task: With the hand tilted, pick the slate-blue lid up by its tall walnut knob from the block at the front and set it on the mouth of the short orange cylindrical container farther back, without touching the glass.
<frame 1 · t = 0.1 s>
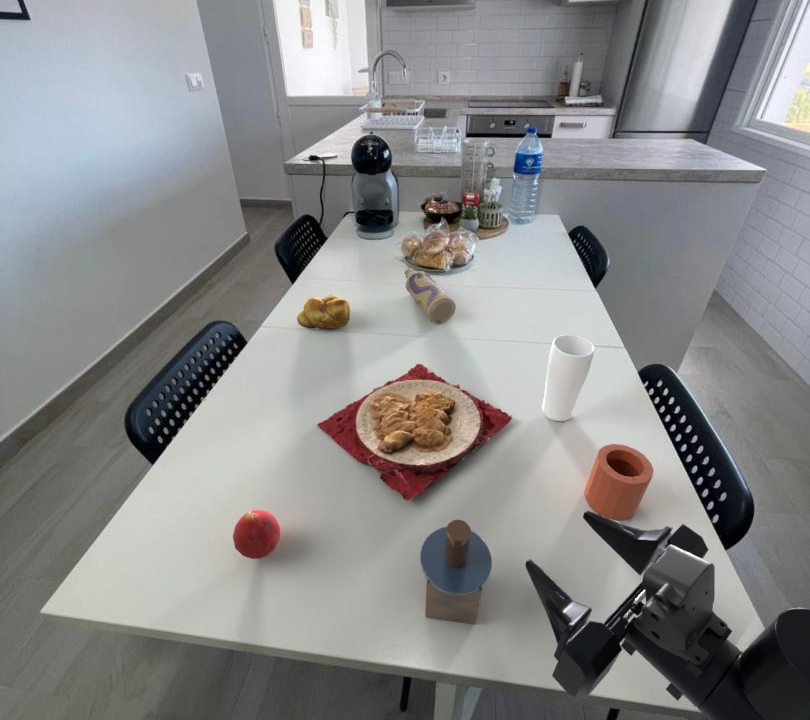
hand: (557, 536, 46), 14 cm above the table, tool horizontal, fingers open, 9 cm apart
decorative bottle: (427, 302, 118), on the table
drinking glass: (556, 413, 82), on the table
bread roll: (325, 324, 109), on the table
orange cylindrical container: (609, 499, 67), on the table
block: (451, 595, 55), on the table
plate with food: (414, 426, 80), on the table
onion: (262, 550, 60), on the table
lid: (455, 560, 51), point 8 cm above the table, touching block
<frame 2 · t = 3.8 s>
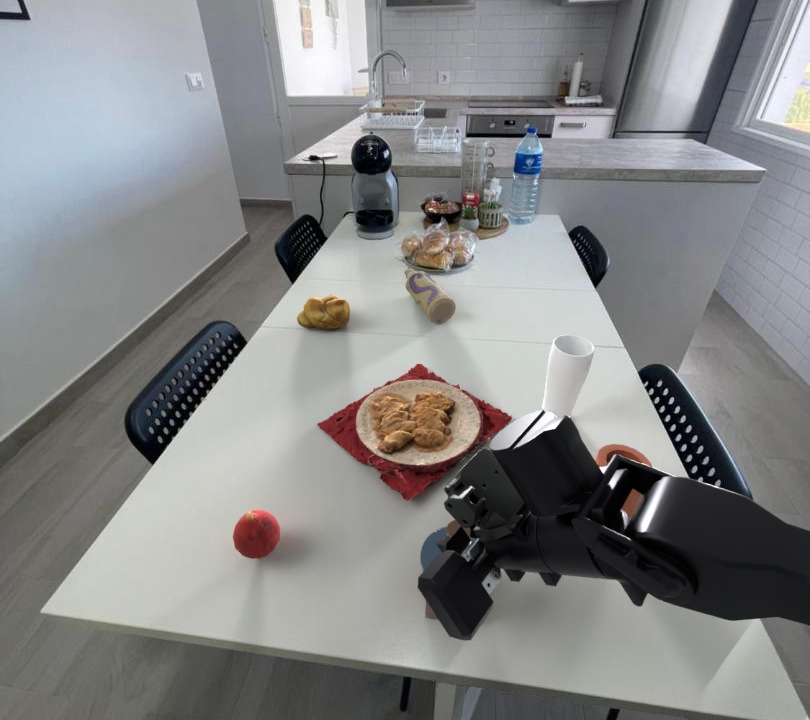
hand: (447, 536, 49), 11 cm above the table, tool tilted 45°, fingers closed on lid, 2 cm apart
lid: (455, 560, 51), point 8 cm above the table, touching gripper, block
everything else where it was.
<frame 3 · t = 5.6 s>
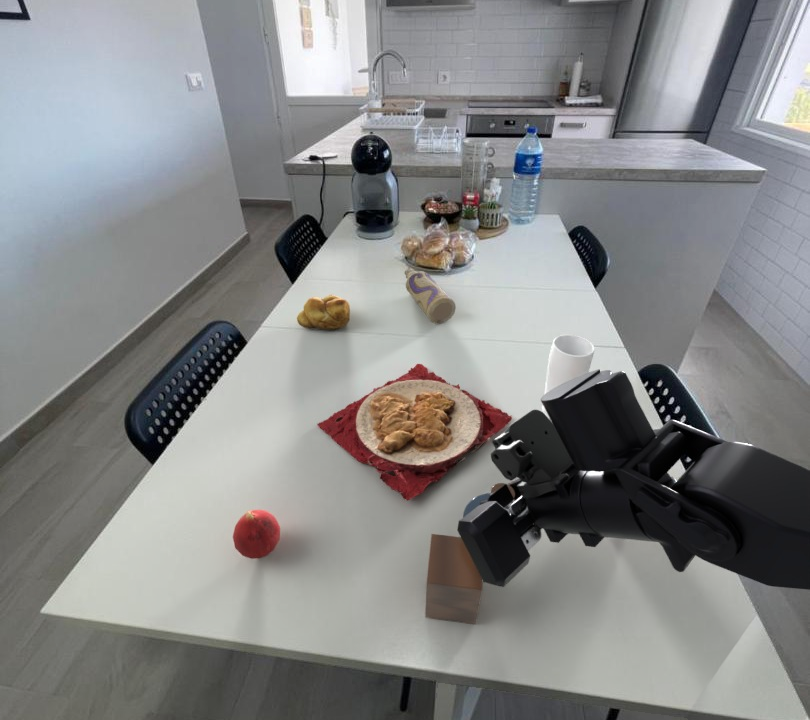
hand: (491, 499, 51), 14 cm above the table, tool tilted 45°, fingers closed on lid, 2 cm apart
lid: (497, 524, 52), point 10 cm above the table, touching gripper
everything else where it was.
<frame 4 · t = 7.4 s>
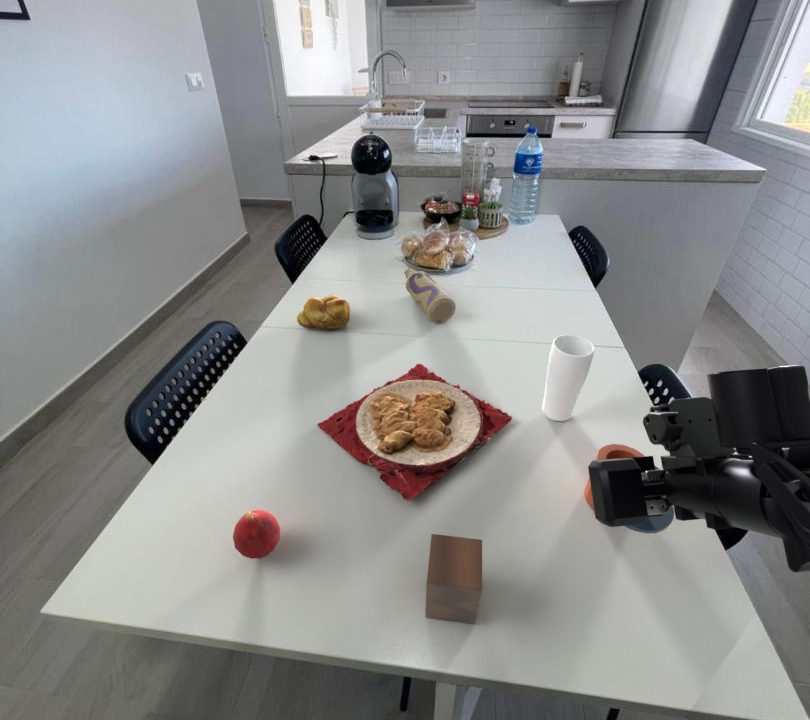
hand: (637, 477, 53), 14 cm above the table, tool tilted 45°, fingers closed on lid, 2 cm apart
lid: (635, 503, 54), point 10 cm above the table, touching gripper
everything else where it was.
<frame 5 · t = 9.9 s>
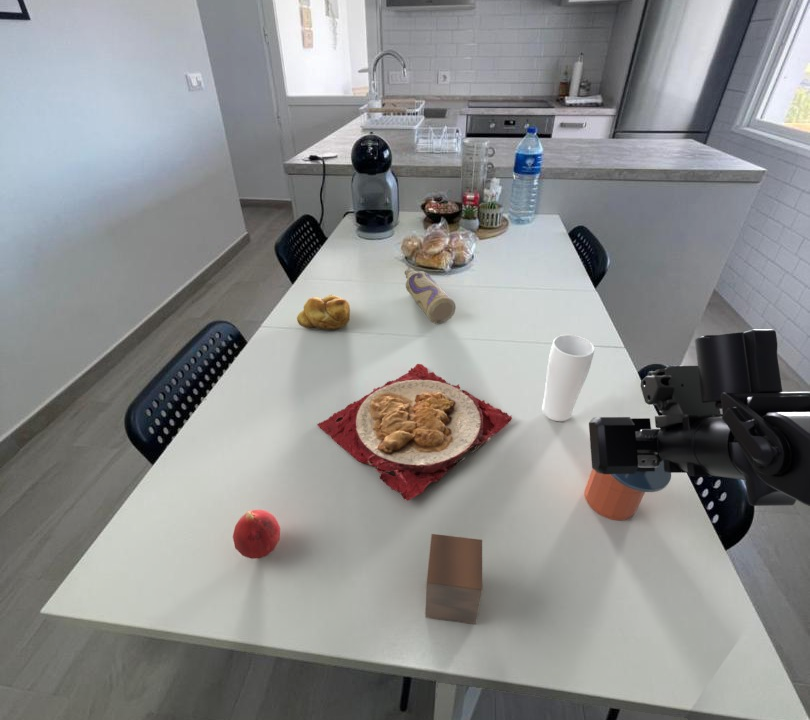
hand: (639, 443, 58), 13 cm above the table, tool tilted 45°, fingers closed on lid, 2 cm apart
lid: (636, 467, 59), point 10 cm above the table, touching gripper
everything else where it was.
when the fingers open (11 cm above the table, at t = 11.3 s): lid stays where it is, resting on orange cylindrical container.
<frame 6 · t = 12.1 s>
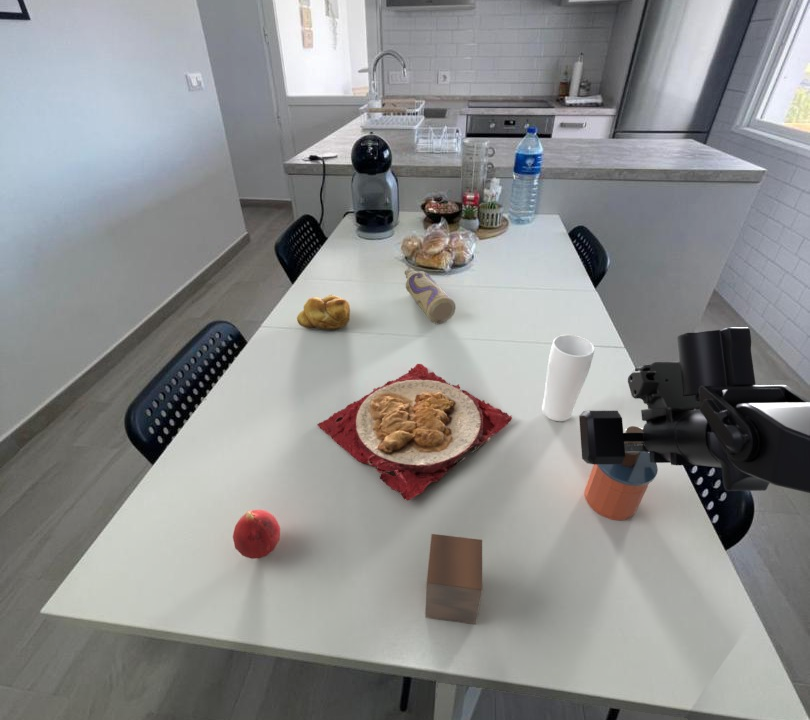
hand: (628, 436, 61), 12 cm above the table, tool tilted 45°, fingers open, 9 cm apart
lid: (624, 462, 62), point 8 cm above the table, touching orange cylindrical container
everything else where it was.
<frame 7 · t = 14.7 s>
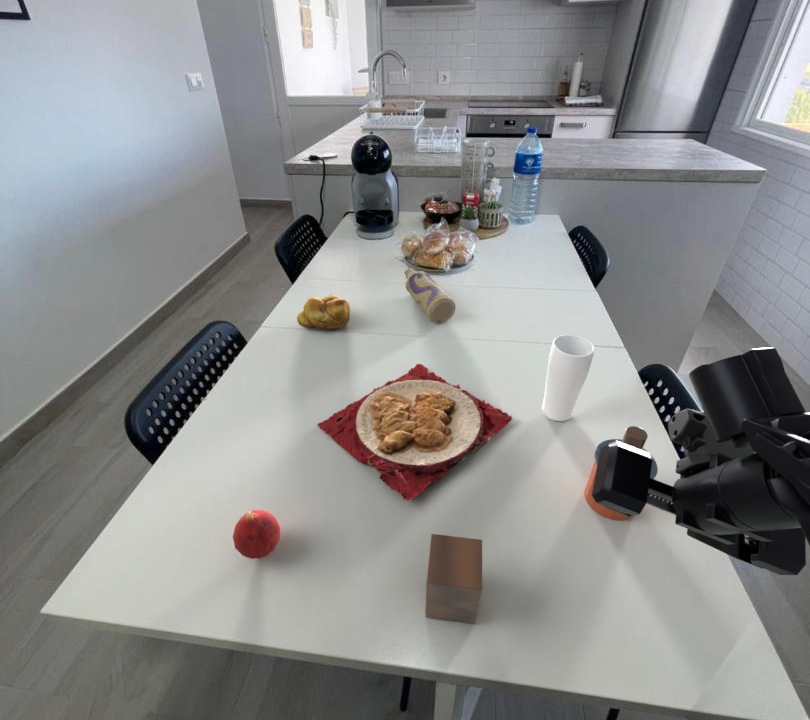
hand: (647, 514, 50), 12 cm above the table, tool tilted 30°, fingers open, 9 cm apart
nothing on the table moved.
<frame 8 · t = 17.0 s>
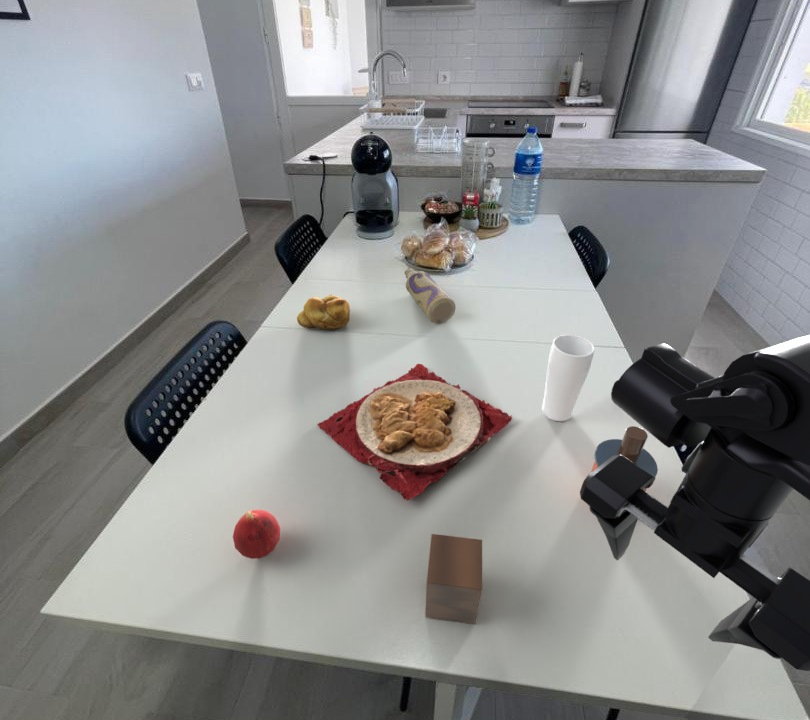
hand: (662, 593, 42), 13 cm above the table, tool pointing down, fingers open, 9 cm apart
nothing on the table moved.
at the end: lid 0.0 cm off-centre on the orange cylindrical container, point 8.0 cm above the orange cylindrical container's base; lid tilted 0°; lid touching orange cylindrical container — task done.
